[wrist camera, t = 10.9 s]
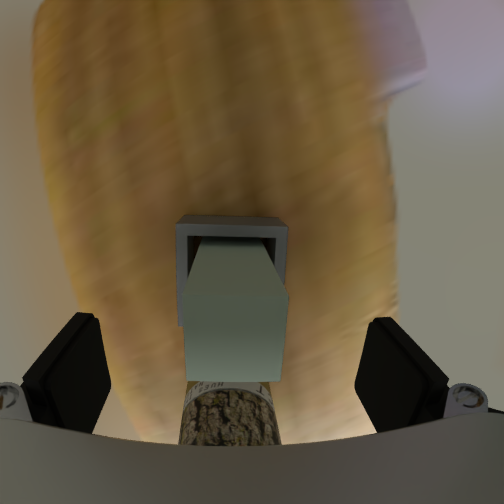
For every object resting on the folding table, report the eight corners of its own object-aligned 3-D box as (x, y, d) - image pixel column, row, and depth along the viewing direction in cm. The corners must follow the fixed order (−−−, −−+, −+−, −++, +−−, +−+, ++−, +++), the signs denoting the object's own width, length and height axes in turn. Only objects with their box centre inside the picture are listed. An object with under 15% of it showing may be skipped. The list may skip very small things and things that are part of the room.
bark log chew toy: (190, 405, 27) (173, 672, 3) (186, 344, 26) (143, 678, 1) (264, 406, 28) (314, 668, 4) (269, 345, 26) (353, 670, 2)
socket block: (184, 215, 23) (175, 223, 19) (278, 217, 24) (288, 226, 20) (185, 303, 25) (178, 326, 21) (272, 304, 25) (280, 328, 21)
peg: (203, 233, 23) (182, 293, 12) (258, 235, 24) (289, 296, 12) (203, 285, 24) (186, 380, 13) (255, 286, 25) (280, 381, 13)
